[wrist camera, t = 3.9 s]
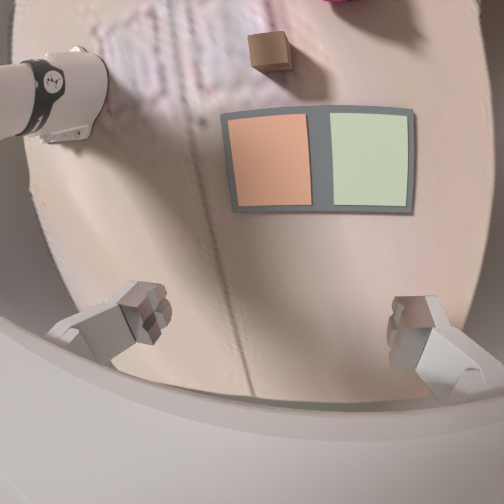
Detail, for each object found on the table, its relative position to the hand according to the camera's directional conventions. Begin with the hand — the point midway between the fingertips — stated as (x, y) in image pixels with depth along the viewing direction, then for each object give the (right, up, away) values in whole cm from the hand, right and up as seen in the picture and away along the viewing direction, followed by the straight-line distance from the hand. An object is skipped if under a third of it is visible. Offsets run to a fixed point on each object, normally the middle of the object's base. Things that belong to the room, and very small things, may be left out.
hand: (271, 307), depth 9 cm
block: (+2, +26, +20) cm, 33 cm away
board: (+8, +14, +25) cm, 30 cm away
